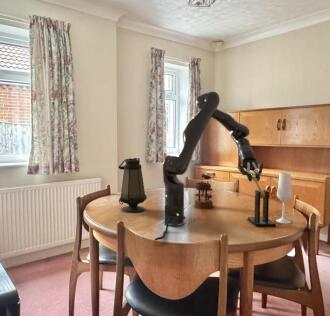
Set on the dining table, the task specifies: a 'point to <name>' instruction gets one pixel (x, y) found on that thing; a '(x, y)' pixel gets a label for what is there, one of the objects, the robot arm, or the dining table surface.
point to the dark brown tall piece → (203, 187)
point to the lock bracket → (263, 220)
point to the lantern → (132, 186)
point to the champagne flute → (284, 193)
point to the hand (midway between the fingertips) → (254, 180)
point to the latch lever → (262, 193)
